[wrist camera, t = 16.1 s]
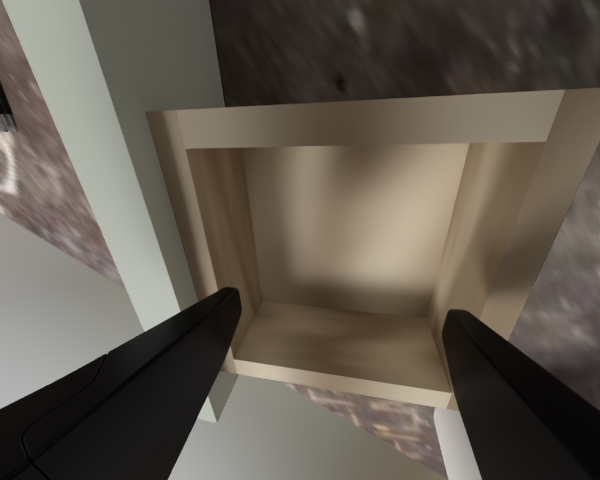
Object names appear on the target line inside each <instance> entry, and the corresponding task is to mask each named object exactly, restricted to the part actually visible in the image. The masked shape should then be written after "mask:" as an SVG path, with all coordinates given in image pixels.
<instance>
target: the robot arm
mask: <svg viewBox="0 0 600 480" xmlns="http://www.w3.org/2000/svg"><path fill="white" fill-rule="evenodd" d="M241 314H242V304H241V299H240V293H239V290H238V289H237V288H236V287H224V288H222V289H220V290H218V291H217V292H215V293H213V294H211V295H209V296H208V297H206V298H204V299H202V300H201V301H199V302H197V303H195V304H193V305H192V306H190V307H188V308H186V309H185V310H183V311H181V312H179V313H177V314H176V315H174V316H172V317H170V318H168V319H167V320H165V321H163V322H161V323H160V324H158V325H156V326H154V327H152V328H151V329H149V330H147V331H145V332H144V333H142V334H140V335H139V336H136V337H135V338H133V339H131V340H129V341H128V342H126V343H124V344H122V345H120V346H119V347H117V348H115V349H113V350H111V351H110V352H109V353H108V354H104V355H102V356H101V357H99V358H97V359H95V360H94V361H92V362H90V363H88V364H86V365H85V366H83V367H81V368H79V369H77V370H75V371H74V372H72V373H70V374H68V375H66V376H64V377H63V378H61V379H59V380H57V381H55V382H53V383H51V384H49V385H47V386H45V387H43V388H41V389H39V390H37V391H35V392H33V393H31V394H29V395H27V396H25V397H24V398H21V399H19V400H17V401H15V402H14V403H11V404H9V405H8V406H5V407H4V408H1V409H0V480H168V478H169V476H170V474H171V471H172V469H173V467H174V465H175V463H176V461H177V459H178V457H179V455H180V453H181V451H182V449H183V446H184V444H185V442H186V440H187V438H188V435H189V434H190V432H191V430H192V428H193V426H194V423H195V421H196V419H197V417H198V415H199V413H200V411H201V409H202V407H203V405H204V403H205V401H206V399H207V397H208V394H209V392H210V390H211V388H212V386H213V384H214V382H215V380H216V378H217V376H218V374H219V371H220V369H221V367H222V365H223V363H224V361H225V358H226V356H227V353H228V351H229V348H230V345H231V342H232V339H233V337H234V334H235V331H236V328H237V325H238V323H239V320H240V317H241ZM442 341H443V346H444V351H445V355H446V360H447V365H448V369H449V374H450V379H451V383H452V388H453V392H454V396H455V399H456V402H457V406H458V409H459V412H460V415H461V418H462V421H463V424H464V427H465V430H466V433H467V436H468V439H469V442H470V445H471V448H472V451H473V454H474V457H475V460H476V463H477V466H478V469H479V472H480V475H481V478H482V480H600V410H598V409H597V408H596V407H594V406H593V405H592V404H590V403H589V402H588V401H586V400H585V399H584V398H582V397H581V396H580V395H578V394H577V393H576V392H574V391H573V390H572V389H570V388H569V387H568V386H566V385H565V384H564V383H562V382H561V381H560V380H559V379H557V378H556V377H555V376H553V375H552V374H551V373H549V372H548V371H547V370H545V369H544V368H543V367H541V366H540V365H539V364H537V363H536V362H535V361H533V360H532V359H531V358H529V357H528V356H527V355H525V354H524V353H523V352H521V351H520V350H519V349H517V348H516V347H515V346H514V345H512V344H511V343H510V342H508V341H507V340H506V339H504V338H503V337H502V336H500V335H499V334H498V333H496V332H495V331H494V330H492V329H491V328H490V327H488V326H487V325H486V324H484V323H483V322H482V321H480V320H479V319H478V318H476V317H475V316H474V315H472V314H471V313H470V312H468V311H467V310H462V309H449V310H448V312H447V315H446V318H445V322H444V325H443V329H442Z"/></svg>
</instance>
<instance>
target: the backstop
mask: <svg viewBox="0 0 600 480" xmlns="http://www.w3.org/2000/svg"><path fill="white" fill-rule="evenodd" d="M2 1H3V4H4V6H5V8H6V11H7V13H8V15H9V18H10V20H11V22H12V25H13V27H14V29H15V32H16V34H17V36H18V39H19V41H20V43H21V46H22V48H23V50H24V53H25V55H26V57H27V60H28V62H29V64H30V67H31V69H32V71H33V74H34V76H35V78H36V81H37V83H38V85H39V87H40V90H41V92H42V94H43V97H44V99H45V101H46V104H47V106H48V108H49V111H50V113H51V115H52V118H53V120H54V122H55V125H56V127H57V129H58V132H59V134H60V136H61V139H62V141H63V143H64V146H65V148H66V150H67V153H68V155H69V157H70V160H71V162H72V164H73V167H74V169H75V171H76V174H77V176H78V178H79V180H80V183H81V185H82V187H83V190H84V192H85V194H86V197H87V199H88V201H89V204H90V206H91V208H92V211H93V213H94V215H95V218H96V220H97V222H98V225H99V227H100V229H101V232H102V234H103V236H104V239H105V241H106V243H107V246H108V248H109V250H110V253H111V255H112V257H113V260H114V262H115V264H116V266H117V269H118V271H119V273H120V276H121V278H122V280H123V283H124V285H125V287H126V290H127V292H128V294H129V296H130V299H131V301H132V304H133V306H134V308H135V311H136V313H137V315H138V318H139V320H140V322H141V325H142V327H143V329H144V332H145V331H147V330H149V329H151V328H152V327H154V326H156V325H158V324H160V323H161V322H163V321H165V320H167V319H168V318H170V317H172V316H174V315H176V314H177V313H179V312H181V311H183V310H185V309H186V308H188V307H190V306H192V305H193V304H195V303H197V302H198V299H197V296H196V292H195V288H194V285H193V281H192V278H191V274H190V270H189V267H188V263H187V260H186V256H185V253H184V249H183V245H182V242H181V238H180V235H179V231H178V228H177V224H176V220H175V217H174V213H173V210H172V206H171V203H170V199H169V195H168V192H167V188H166V185H165V181H164V177H163V174H162V170H161V167H160V163H159V160H158V156H157V152H156V149H155V145H154V142H153V138H152V135H151V131H150V127H149V124H148V120H147V117H146V113H145V112H150V111H168V110H187V109H206V108H225V103H224V97H223V90H222V84H221V77H220V70H219V64H218V57H217V51H216V44H215V37H214V31H213V24H212V18H211V11H210V5H209V0H2ZM238 375H239V374H235V373H229V372H223V371H219V374H218V376H217V378H216V380H215V382H214V384H213V386H212V388H211V390H210V392H209V394H208V397H207V399H206V401H205V403H204V405H203V407H202V409H201V411H200V413H199V415H198V417H197V419H200V420H205V421H209V422H215V423H217V422H218V420H219V418H220V415H221V413H222V411H223V409H224V406H225V404H226V402H227V400H228V398H229V395H230V393H231V391H232V389H233V386H234V384H235V382H236V380H237V377H238Z"/></svg>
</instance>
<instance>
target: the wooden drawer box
mask: <svg viewBox="0 0 600 480" xmlns="http://www.w3.org/2000/svg"><path fill="white" fill-rule="evenodd" d="M145 113H146V117H147V120H148V124H149V127H150V131H151V135H152V138H153V142H154V145H155V149H156V152H157V156H158V160H159V163H160V167H161V170H162V174H163V177H164V181H165V185H166V188H167V192H168V195H169V199H170V203H171V206H172V210H173V213H174V217H175V220H176V224H177V228H178V231H179V235H180V238H181V242H182V245H183V249H184V253H185V256H186V260H187V263H188V267H189V270H190V274H191V278H192V281H193V285H194V288H195V292H196V296H197V299H198V302H199V301H201V300H202V299H204V298H206V297H208V296H209V295H211V294H213V293H215V292H217V291H218V290H220V289H222V288H224V287H236V288H237V289H238V290H239V293H240V299H241V304H242V314H241V317H240V320H239V323H238V325H237V328H236V331H235V334H234V337H233V339H232V342H231V345H230V348H229V351H228V353H227V356H226V358H225V361H224V363H223V365H222V367H221V369H220V371H223V372H229V373H235V374H242V375H248V376H253V377H259V378H265V379H271V380H277V381H283V382H289V383H295V384H301V385H307V386H313V387H319V388H325V389H331V390H337V391H342V392H348V393H354V394H360V395H366V396H372V397H378V398H384V399H390V400H396V401H402V402H408V403H414V404H420V405H426V406H432V407H438V408H444V409H450V410H456V411H459V409H458V406H457V402H456V399H455V396H454V392H453V388H452V383H451V379H450V374H449V369H448V365H447V360H446V355H445V351H444V346H443V341H442V329H443V325H444V322H445V318H446V315H447V312H448V310H449V309H462V310H467V311H468V312H470V313H471V314H472V315H474V316H475V317H476V318H478V319H479V320H480V321H482V322H483V323H484V324H486V325H487V326H488V327H490V328H491V329H492V330H494V331H495V332H496V333H498V334H499V335H500V336H502V337H503V338H504V339H506V340H507V341H508V339H509V337H510V335H511V333H512V331H513V328H514V326H515V324H516V322H517V320H518V318H519V315H520V313H521V311H522V309H523V307H524V305H525V302H526V300H527V298H528V296H529V294H530V292H531V289H532V287H533V285H534V283H535V281H536V279H537V276H538V274H539V272H540V270H541V268H542V266H543V263H544V261H545V259H546V257H547V255H548V253H549V250H550V248H551V246H552V244H553V242H554V240H555V238H556V235H557V233H558V231H559V229H560V227H561V225H562V222H563V220H564V218H565V216H566V214H567V212H568V209H569V207H570V205H571V203H572V201H573V199H574V196H575V194H576V192H577V190H578V188H579V186H580V183H581V181H582V179H583V177H584V175H585V173H586V170H587V168H588V166H589V164H590V162H591V160H592V157H593V155H594V153H595V151H596V149H597V147H598V144H599V142H600V88H584V89H565V90H546V91H527V92H509V93H490V94H471V95H452V96H433V97H414V98H395V99H376V100H357V101H339V102H320V103H301V104H282V105H263V106H244V107H225V108H206V109H187V110H168V111H150V112H145Z"/></svg>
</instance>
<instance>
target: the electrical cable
mask: <svg viewBox="0 0 600 480" xmlns="http://www.w3.org/2000/svg"><path fill="white" fill-rule="evenodd" d="M0 114H3V116H4V119H5V122H6V124H7V126H8V129H7V127H6V125H5V123H4V121H3V119H2V118H1V116H0V131H4V132H9V131H12V130H11V127H12V129H13V131H18V130H17V128H16V126H15V124H14V121H13V119H12V116H11V115H10V114H12V112H11V110H10V108H9V105H8V103H7V101H6V99H5V96H4V94H3V92H2V90H1V87H0ZM6 117H7V118H6ZM7 119H8V121H9V123H10V125H11V127H10V125H9V123H8V121H7ZM8 130H9V131H8Z"/></svg>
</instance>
